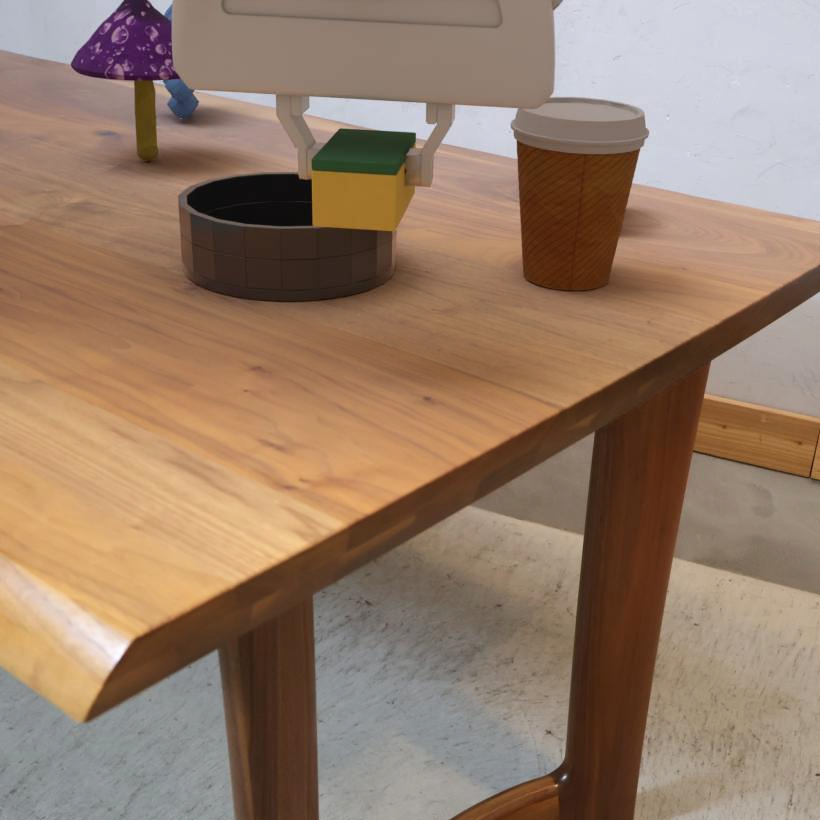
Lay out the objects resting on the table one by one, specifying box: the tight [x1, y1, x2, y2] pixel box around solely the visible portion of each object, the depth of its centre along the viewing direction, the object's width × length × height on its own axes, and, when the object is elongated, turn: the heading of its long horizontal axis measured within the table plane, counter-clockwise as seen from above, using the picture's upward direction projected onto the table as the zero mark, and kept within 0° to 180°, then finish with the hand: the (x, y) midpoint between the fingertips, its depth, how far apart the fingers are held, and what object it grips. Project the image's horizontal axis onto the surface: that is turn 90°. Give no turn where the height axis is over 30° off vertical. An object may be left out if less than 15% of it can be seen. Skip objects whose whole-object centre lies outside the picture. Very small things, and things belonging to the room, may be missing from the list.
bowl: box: [177, 171, 398, 302], centre depth 82 cm, size 15×15×5 cm
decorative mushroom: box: [70, 0, 181, 162], centre depth 106 cm, size 12×12×15 cm
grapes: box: [162, 3, 200, 120], centre depth 126 cm, size 12×7×12 cm, turn 10°
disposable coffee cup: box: [510, 96, 650, 291], centre depth 81 cm, size 10×10×12 cm
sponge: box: [311, 127, 417, 231], centre depth 64 cm, size 4×8×4 cm, turn 174°
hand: (365, 181), depth 64 cm, fingers closed on sponge, 4 cm apart
